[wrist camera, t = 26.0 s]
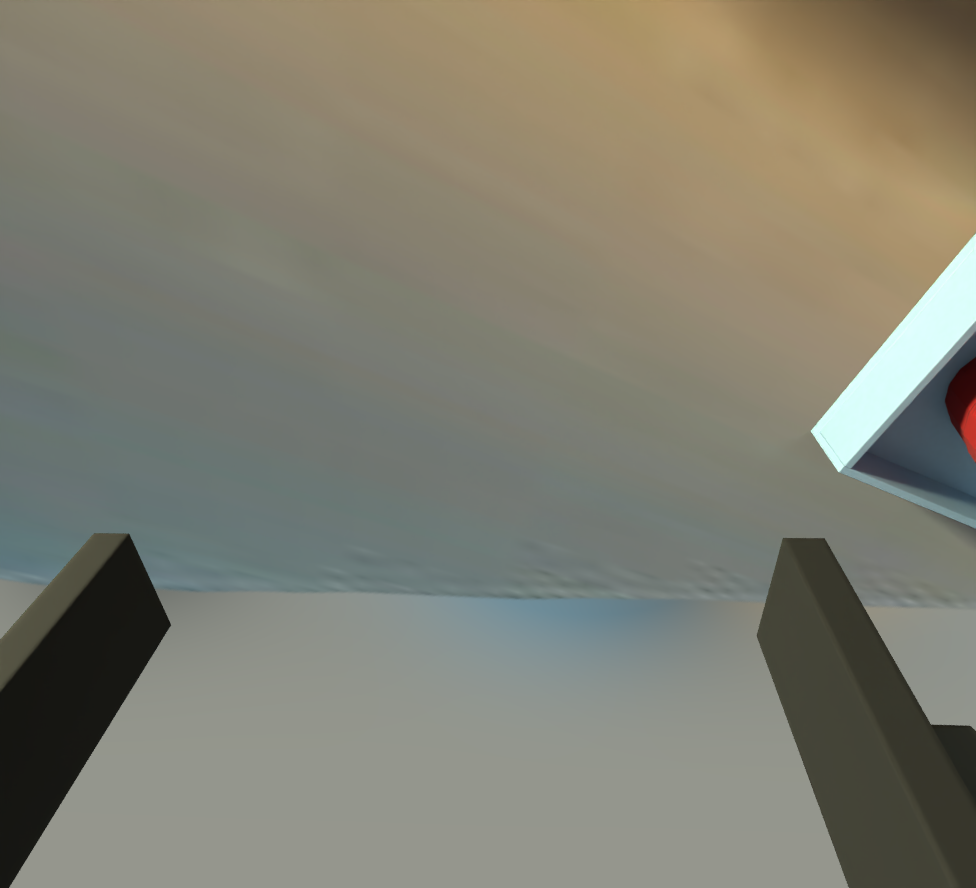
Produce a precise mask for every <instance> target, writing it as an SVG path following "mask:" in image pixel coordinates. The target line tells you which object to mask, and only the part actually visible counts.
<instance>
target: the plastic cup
mask: <svg viewBox="0 0 976 888" xmlns="http://www.w3.org/2000/svg"><path fill="white" fill-rule="evenodd" d="M945 404H946V407H947V411H948V414H949V416H950V420H951V423H952V424H953V426H954V427H955V429H956V430H957V432H958V433H959V435H960V436H961V438H962V439H963V441H964V443H965V444H966V447H967V450H968V452H969V454H970V455H971V457H972V458H973V460H974V461H975V463H976V357H975V358H974V359H972V360H971V361H970V362H969V363H967V364H966V365H965V366H963V367H962V368H961V369H960V370H959V371H958V373H957V374H956V376H955V377H954V378H953V380H952V381H951V383H950V384H949V386H948V390H947V394H946V398H945Z"/></svg>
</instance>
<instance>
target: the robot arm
mask: <svg viewBox="0 0 976 888" xmlns="http://www.w3.org/2000/svg"><path fill="white" fill-rule="evenodd" d="M170 626H171V624H170V621H169V620H168V617H167V615H166V613H165V611H164V609H163V606H162V604H161V602H160V600H159V598H158V596H157V593H156V591H155V589H154V587H153V584H152V582H151V580H150V578H149V576H148V574H147V571H146V569H145V567H144V565H143V563H142V561H141V558H140V556H139V554H138V552H137V550H136V548H135V545H134V543H133V541H132V539H131V537H130V535H129V534H109V533H94V534H93V535H92V536H91V537H90V539H89V540H88V541H87V542H86V543H85V544H84V545H83V547H82V548H81V549H80V550H79V551H78V552H77V553H76V554H75V556H74V557H73V558H72V559H71V560H70V561H69V562H68V563H67V565H66V566H65V567H64V568H63V569H62V570H61V571H60V573H59V574H58V575H57V576H56V577H55V578H54V579H53V580H52V582H51V583H50V584H49V585H48V586H47V587H46V588H45V590H44V591H43V592H42V593H41V594H40V595H39V596H38V598H37V599H36V600H35V601H34V602H33V603H32V604H31V605H30V606H29V608H28V609H27V610H26V611H25V612H24V613H23V614H22V616H21V617H20V618H19V619H18V620H17V621H16V622H15V623H14V625H13V626H12V627H11V628H10V629H9V631H7V633H6V634H5V635H4V636H3V637H2V638H1V639H0V888H9V887H10V885H11V884H12V882H13V880H14V879H15V877H16V875H17V874H18V872H19V870H20V869H21V867H22V866H23V864H24V862H25V861H26V859H27V858H28V856H29V854H30V853H31V851H32V850H33V848H34V846H35V845H36V843H37V841H38V840H39V838H40V837H41V835H42V833H43V832H44V830H45V828H46V827H47V825H48V823H49V822H50V820H51V819H52V817H53V816H54V814H55V812H56V810H57V809H58V807H59V806H60V804H61V803H62V801H63V799H64V798H65V796H66V794H67V793H68V791H69V789H70V788H71V786H72V785H73V783H74V781H75V780H76V778H77V777H78V775H79V773H80V772H81V770H82V768H83V767H84V765H85V764H86V762H87V760H88V758H89V757H90V756H91V754H92V752H93V751H94V749H95V747H96V746H97V744H98V742H99V741H100V739H101V738H102V736H103V734H104V733H105V731H106V730H107V728H108V726H109V725H110V723H111V721H112V720H113V718H114V717H115V715H116V713H117V712H118V710H119V708H120V707H121V705H122V703H123V702H124V700H125V699H126V697H127V695H128V694H129V692H130V691H131V689H132V687H133V686H134V684H135V682H136V681H137V679H138V678H139V676H140V674H141V673H142V671H143V670H144V668H145V666H146V665H147V663H148V661H149V660H150V658H151V657H152V655H153V653H154V652H155V650H156V649H157V647H158V645H159V643H160V642H161V640H162V639H163V637H164V636H165V634H166V632H167V631H168V629H169V627H170ZM757 638H758V641H759V643H760V646H761V649H762V652H763V654H764V657H765V660H766V663H767V665H768V668H769V671H770V673H771V676H772V679H773V682H774V684H775V687H776V690H777V693H778V695H779V698H780V701H781V704H782V706H783V709H784V712H785V715H786V717H787V720H788V723H789V725H790V728H791V731H792V734H793V736H794V739H795V742H796V744H797V747H798V750H799V752H800V755H801V758H802V761H803V763H804V766H805V769H806V772H807V774H808V777H809V780H810V783H811V785H812V788H813V791H814V794H815V796H816V799H817V802H818V805H819V807H820V810H821V813H822V815H823V818H824V821H825V824H826V827H827V829H828V832H829V835H830V837H831V840H832V843H833V846H834V848H835V851H836V854H837V857H838V859H839V862H840V865H841V867H842V870H843V873H844V876H845V878H846V881H847V884H848V887H849V888H976V731H975V730H974V729H973V728H972V727H971V726H955V725H931V724H930V722H929V721H928V719H927V717H926V715H925V714H924V712H923V711H922V708H921V706H920V705H919V703H918V702H917V699H916V698H915V696H914V695H913V692H912V691H911V689H910V687H909V686H908V684H907V682H906V680H905V679H904V677H903V675H902V673H901V672H900V670H899V668H898V666H897V664H896V663H895V661H894V659H893V657H892V656H891V654H890V652H889V651H888V649H887V647H886V645H885V643H884V642H883V640H882V638H881V636H880V635H879V633H878V631H877V629H876V628H875V626H874V624H873V622H872V621H871V619H870V617H869V615H868V614H867V612H866V610H865V608H864V607H863V605H862V603H861V601H860V600H859V598H858V596H857V594H856V593H855V591H854V589H853V587H852V586H851V584H850V582H849V580H848V579H847V577H846V575H845V573H844V572H843V570H842V568H841V566H840V565H839V563H838V561H837V559H836V558H835V556H834V554H833V552H832V551H831V549H830V547H829V545H828V544H827V542H826V540H825V538H783V540H782V544H781V547H780V551H779V555H778V559H777V562H776V566H775V570H774V573H773V577H772V581H771V585H770V588H769V592H768V596H767V599H766V603H765V607H764V611H763V614H762V618H761V622H760V626H759V630H758V633H757Z"/></svg>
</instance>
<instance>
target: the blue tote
mask: <svg viewBox="0 0 976 888" xmlns="http://www.w3.org/2000/svg"><path fill="white" fill-rule="evenodd" d="M975 357H976V233H975V235H974V236H973V237H972V238H971V239H970V241H969V242H968V243H967V244H966V245H965V247H964V248H963V249H962V250H961V251H960V253H959V254H958V255H957V256H956V257H955V259H954V260H953V261H952V262H951V263H950V265H949V266H948V267H947V268H946V269H945V271H944V272H943V273H942V274H941V275H940V277H939V278H938V279H937V280H936V281H935V283H934V284H933V285H932V286H931V287H930V289H929V290H928V291H927V292H926V293H925V295H924V296H923V297H922V298H921V299H920V301H919V302H918V303H917V304H916V305H915V307H914V308H913V309H912V310H911V311H910V313H909V314H908V315H907V316H906V317H905V319H904V320H903V321H902V322H901V323H900V325H899V326H898V327H897V328H896V329H895V331H894V332H893V333H892V334H891V335H890V337H889V338H888V339H887V340H886V341H885V343H884V344H883V345H882V346H881V347H880V349H879V350H878V351H877V352H876V353H875V355H874V356H873V357H872V358H871V359H870V361H869V362H868V363H867V364H866V365H865V367H864V368H863V369H862V370H861V371H860V373H859V374H858V375H857V376H856V377H855V379H854V380H853V381H852V382H851V383H850V385H849V386H848V387H847V388H846V389H845V391H844V392H843V393H842V394H841V395H840V397H839V398H838V399H837V400H836V401H835V403H834V404H833V405H832V406H831V407H830V409H829V410H828V411H827V412H826V413H825V415H824V416H823V417H822V418H821V419H820V421H819V422H818V423H817V424H816V425H815V427H814V428H813V429H812V430H811V432H812V434H813V435H814V437H815V438H816V440H817V441H818V443H819V444H820V446H821V447H822V449H823V450H824V452H825V453H826V454H827V456H828V457H829V459H830V460H831V462H832V463H833V465H834V466H835V467H836V469H837V470H838V472H840V473H842V474H845V475H847V476H849V477H852V478H854V479H857V480H859V481H862V482H864V483H866V484H869V485H871V486H874V487H876V488H879V489H881V490H883V491H886V492H888V493H891V494H893V495H896V496H898V497H900V498H903V499H905V500H908V501H910V502H913V503H915V504H917V505H920V506H922V507H925V508H927V509H930V510H932V511H934V512H937V513H939V514H942V515H944V516H947V517H949V518H951V519H954V520H956V521H959V522H961V523H964V524H966V525H968V526H971V527H973V528H976V463H975V461H974V460H973V458H972V457H971V455H970V454H969V452H968V450H967V447H966V444H965V443H964V441H963V439H962V438H961V436H960V435H959V433H958V432H957V430H956V429H955V427H954V426H953V424H952V423H951V420H950V416H949V414H948V411H947V407H946V404H945V398H946V394H947V390H948V386H949V384H950V383H951V381H952V380H953V378H954V377H955V376H956V374H957V373H958V371H959V370H960V369H961V368H962V367H963V366H965V365H966V364H967V363H969V362H970V361H971V360H972V359H974V358H975Z"/></svg>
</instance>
